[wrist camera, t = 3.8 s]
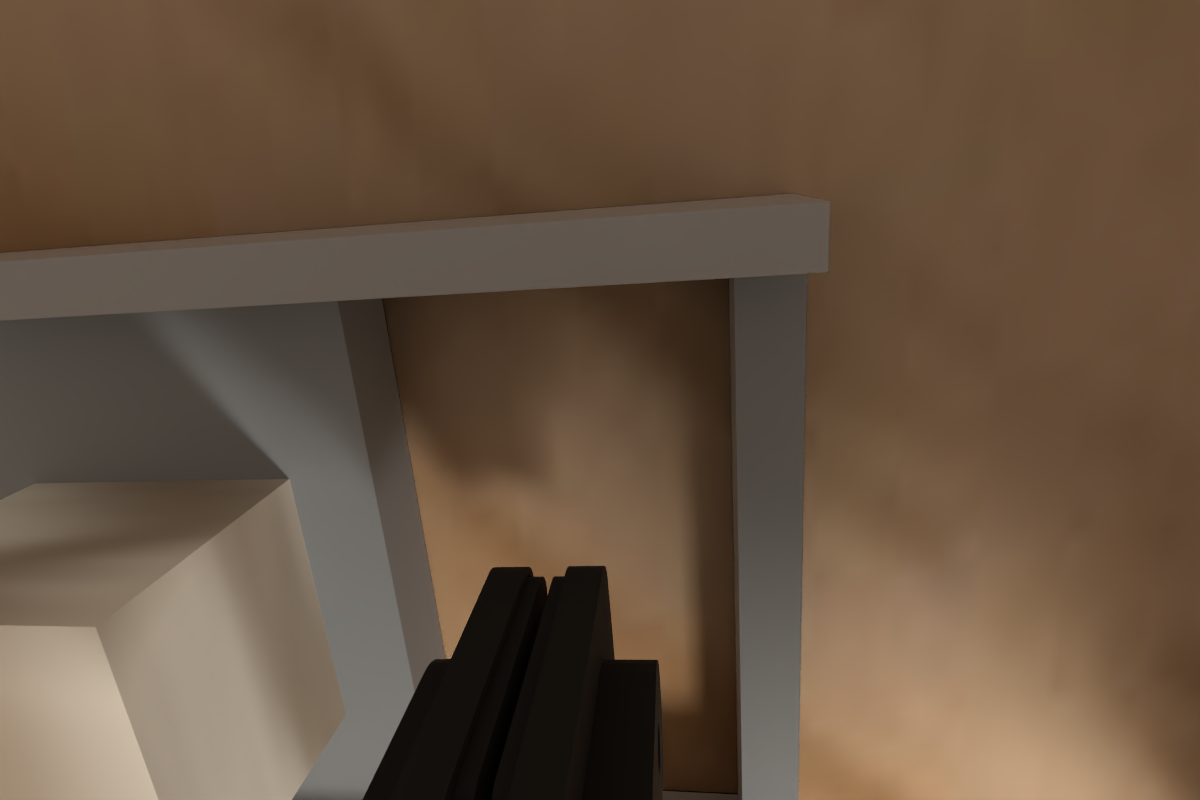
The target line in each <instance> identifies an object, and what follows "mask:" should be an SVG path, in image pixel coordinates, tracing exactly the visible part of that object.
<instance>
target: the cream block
mask: <svg viewBox="0 0 1200 800" xmlns="http://www.w3.org/2000/svg"><path fill="white" fill-rule="evenodd" d="M345 716H346V713H345V708H344V704H343V700H342V696H341V692H340V687H339V683H338V679H337V675H336V671H335V667H334V662H333V658H332V654H331V650H330V646H329V642H328V637H327V633H326V629H325V625H324V621H323V617H322V612H321V608H320V604H319V600H318V596H317V591H316V587H315V583H314V579H313V575H312V571H311V566H310V562H309V558H308V554H307V550H306V546H305V541H304V537H303V533H302V529H301V525H300V520H299V516H298V512H297V508H296V504H295V500H294V495H293V491H292V487H291V483H290V479H257V480H200V481H143V482H86V483H35V484H33V485H31V486H29V487H26V488H24V489H22V490H20V491H18V492H16V493H14V494H12V495H10V496H7V497H5V498H3V499H1V500H0V800H292V799H293V797H294V796H295V794H296V793H297V791H298V789H299V788H300V786H301V785H302V783H303V782H304V780H305V778H306V777H307V775H308V774H309V772H310V771H311V769H312V767H313V766H314V764H315V763H316V761H317V760H318V758H319V756H320V755H321V753H322V752H323V750H324V749H325V747H326V745H327V744H328V742H329V741H330V739H331V738H332V736H333V734H334V733H335V731H336V730H337V728H338V727H339V725H340V723H341V722H342V720H343V719H344V717H345Z"/></svg>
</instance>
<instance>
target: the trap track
mask: <svg viewBox="0 0 1200 800" xmlns="http://www.w3.org/2000/svg"><path fill="white" fill-rule="evenodd" d="M829 231H830V201H826V200H821V199H817V198H812V197H807V196H803V195H798V194H779V195H766V196H753V197H739V198H726V199H713V200H699V201H686V202H673V203H659V204H646V205H633V206H619V207H606V208H593V209H579V210H566V211H553V212H539V213H526V214H513V215H499V216H486V217H472V218H459V219H446V220H432V221H419V222H406V223H392V224H379V225H366V226H352V227H339V228H326V229H312V230H299V231H286V232H272V233H259V234H246V235H232V236H219V237H206V238H192V239H179V240H166V241H152V242H139V243H126V244H112V245H99V246H86V247H72V248H59V249H45V250H32V251H19V252H5V253H0V500H1V499H3V498H5V497H7V496H10V495H12V494H14V493H16V492H18V491H20V490H22V489H24V488H26V487H29V486H31V485H33V484H35V483H86V482H143V481H200V480H257V479H290V483H291V487H292V491H293V495H294V500H295V504H296V508H297V512H298V516H299V520H300V525H301V529H302V533H303V537H304V541H305V546H306V550H307V554H308V558H309V562H310V566H311V571H312V575H313V579H314V583H315V587H316V591H317V596H318V600H319V604H320V608H321V612H322V617H323V621H324V625H325V629H326V633H327V637H328V642H329V646H330V650H331V654H332V658H333V662H334V667H335V671H336V675H337V679H338V683H339V687H340V692H341V696H342V700H343V704H344V708H345V713H346V716H345V717H344V719H343V720H342V722H341V723H340V725H339V727H338V728H337V730H336V731H335V733H334V734H333V736H332V738H331V739H330V741H329V742H328V744H327V745H326V747H325V749H324V750H323V752H322V753H321V755H320V756H319V758H318V760H317V761H316V763H315V764H314V766H313V767H312V769H311V771H310V772H309V774H308V775H307V777H306V778H305V780H304V782H303V783H302V785H301V786H300V788H299V789H298V791H297V793H296V794H295V796H294V797H293V799H292V800H363V797H364V795H365V793H366V791H367V789H368V787H369V785H370V783H371V781H372V779H373V777H374V775H375V773H376V771H377V769H378V767H379V765H380V762H381V760H382V758H383V756H384V754H385V752H386V750H387V748H388V746H389V744H390V742H391V740H392V738H393V736H394V734H395V732H396V730H397V727H398V725H399V723H400V721H401V719H402V717H403V715H404V713H405V711H406V709H407V707H408V705H409V703H410V701H411V699H412V697H413V695H414V692H415V690H416V688H417V686H418V684H419V682H420V680H421V678H422V676H423V674H424V672H425V670H426V668H427V667H428V665H429V664H430V662H432V661H433V660H435V659H446V658H445V652H444V646H443V641H442V635H441V630H440V624H439V618H438V613H437V607H436V601H435V596H434V590H433V584H432V579H431V573H430V567H429V562H428V556H427V551H426V545H425V539H424V534H423V528H422V522H421V517H420V511H419V505H418V500H417V494H416V489H415V483H414V477H413V472H412V466H411V460H410V455H409V449H408V443H407V438H406V432H405V427H404V421H403V415H402V410H401V404H400V398H399V393H398V387H397V381H396V376H395V370H394V365H393V359H392V353H391V348H390V342H389V336H388V331H387V325H386V319H385V314H384V308H383V303H382V298H396V297H414V296H431V295H448V294H465V293H482V292H500V291H517V290H534V289H551V288H568V287H586V286H603V285H620V284H637V283H654V282H672V281H689V280H706V279H723V278H729V310H730V365H731V420H732V476H733V531H734V586H735V641H736V697H737V752H738V795H735V794H715V793H695V792H675V791H662V800H798V783H799V726H800V669H801V612H802V555H803V498H804V441H805V384H806V327H807V274H809V273H826V272H828V268H829Z"/></svg>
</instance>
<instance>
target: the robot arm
mask: <svg viewBox="0 0 1200 800" xmlns="http://www.w3.org/2000/svg"><path fill="white" fill-rule="evenodd" d="M662 785H663V739H662V709H661V691H660V675H659V664H658V660H615V658H614V647H613V636H612V624H611V613H610V601H609V590H608V578H607V571H606V567H605V566H569V567H567V570H566V573H565V576H562V577H553V580H552V583H551V586H550V590H549V593H548V595H547V587H546V581H545V578H544V577H533V572H532V569H531V568H530V567H494V568H492V569H491V571H490V572H489V575H488V577H487V579H486V581H485V584H484V586H483V588H482V590H481V593H480V595H479V597H478V599H477V602H476V604H475V606H474V608H473V611H472V613H471V615H470V617H469V620H468V622H467V624H466V626H465V629H464V631H463V633H462V635H461V638H460V640H459V642H458V644H457V647H456V649H455V651H454V653H453V656H452V658H451V659H435V660H433V661H432V662H430V664H429V665H428V667H427V668H426V670H425V672H424V674H423V676H422V678H421V680H420V682H419V684H418V686H417V688H416V690H415V692H414V695H413V697H412V699H411V701H410V703H409V705H408V707H407V709H406V711H405V713H404V715H403V717H402V719H401V721H400V723H399V725H398V727H397V730H396V732H395V734H394V736H393V738H392V740H391V742H390V744H389V746H388V748H387V750H386V752H385V754H384V756H383V758H382V760H381V762H380V765H379V767H378V769H377V771H376V773H375V775H374V777H373V779H372V781H371V783H370V785H369V787H368V789H367V791H366V793H365V795H364V797H363V800H662Z"/></svg>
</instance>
